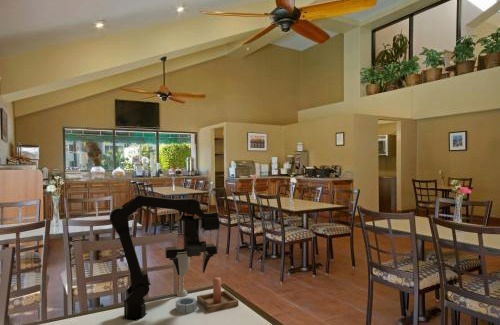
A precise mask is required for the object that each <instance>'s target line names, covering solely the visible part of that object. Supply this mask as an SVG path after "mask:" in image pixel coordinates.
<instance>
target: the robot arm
mask: <svg viewBox="0 0 500 325" xmlns="http://www.w3.org/2000/svg"><path fill="white" fill-rule="evenodd" d="M141 207H145V208H146V207H148V208H156V209H164V210H165V209H166V210H173V211H178V212H181V214H180V215H179V217H177V220H179V222H182V221H183V225H182V226H183V228H182V229H183V232H182V234H183V240H182V241H183V243H182V244H183V247H182V248H177V247H176V246H166V247H165V248H164V255H165V256H164V257H165V258H166V259H168V260H170V261H172V262H173V264H175V265H174V268H175V267H176V268H175V270H176V273H177V276H180V275H179V264H178V257H177V254H187V256H188V257H190V258H193V257H201V255H202V254H203V255H202V273H203V274H204V273H205V271H206V268H207V266H208V263H209V261H210V259H211V257H214V256H215V255H217V254H218V246H216V245H215V244H214V243H207V241H206V240H200V229H202V231H203V232H209V231H219V229H220V221H219V220H220V218H219V216H218V212H217V211H213V212H204V211H203V210H202V208H201V203H200V201H199V200H197V199H195V198H192V197H180V198H168V197H161V196H160V197H159V196H150V195H143V194H136V195H134V197H133V198H132V199H130V200H129V201H126V203H124V204H123V205H121V206H116V207H113V209H112V210H111V211H110V214H109V221H110V223H111V224H112V227H113V229H114V230H115V232H116V233H117V235H118V237H119V241H120V244H121V246H122V250H123V254H124V257H125V259H126V263H127V267H128V270H129V275H130V282H131V283H130V284H131V285H130V286H129V287H127V289H126V290H125V299H124V300H123V316H122V317H121V318H120V319H121V320H126V321H134V322H138V321H139V320H141V319H143V318H144V317H145V316H146V315H148V312H146V311H147V310H146V307H147V306H146V302H145V297H146V296H147V295H148V294H149V292H150V286H151V280H150V278H149V274H148V271H147V269H145V270H143V269H142V267H141V265H140V262H139V258H138V254H137V251H136V249H135V245H134V242H133V238H132V235H131V231H130V223H129V217H130V216H132V215H133V214H134V213H135V212H136V211H137V210H139V209H140V208H141ZM184 213H185V214H187V215H185V214H184ZM194 215H196V217H195V216H194Z"/></svg>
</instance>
